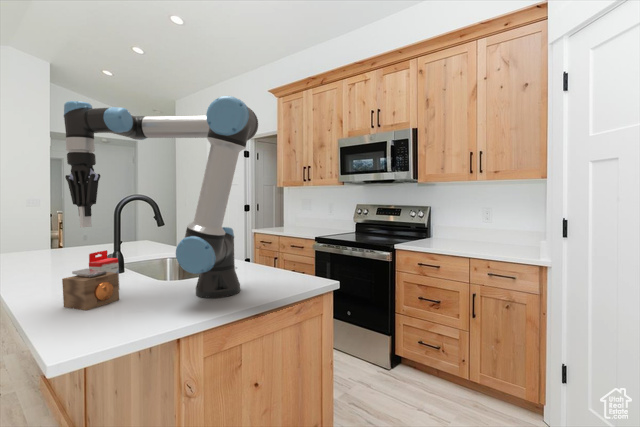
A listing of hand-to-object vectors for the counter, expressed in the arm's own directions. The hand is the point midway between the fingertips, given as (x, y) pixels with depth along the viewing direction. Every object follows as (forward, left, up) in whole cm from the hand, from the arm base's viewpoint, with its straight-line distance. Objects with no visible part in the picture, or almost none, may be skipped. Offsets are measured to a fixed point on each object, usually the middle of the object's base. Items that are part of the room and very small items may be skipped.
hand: (86, 226), depth 115 cm
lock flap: (0, 0, -15) cm, 15 cm away
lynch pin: (-2, 0, -23) cm, 23 cm away
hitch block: (-1, 0, -25) cm, 25 cm away
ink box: (+7, -11, -25) cm, 28 cm away
